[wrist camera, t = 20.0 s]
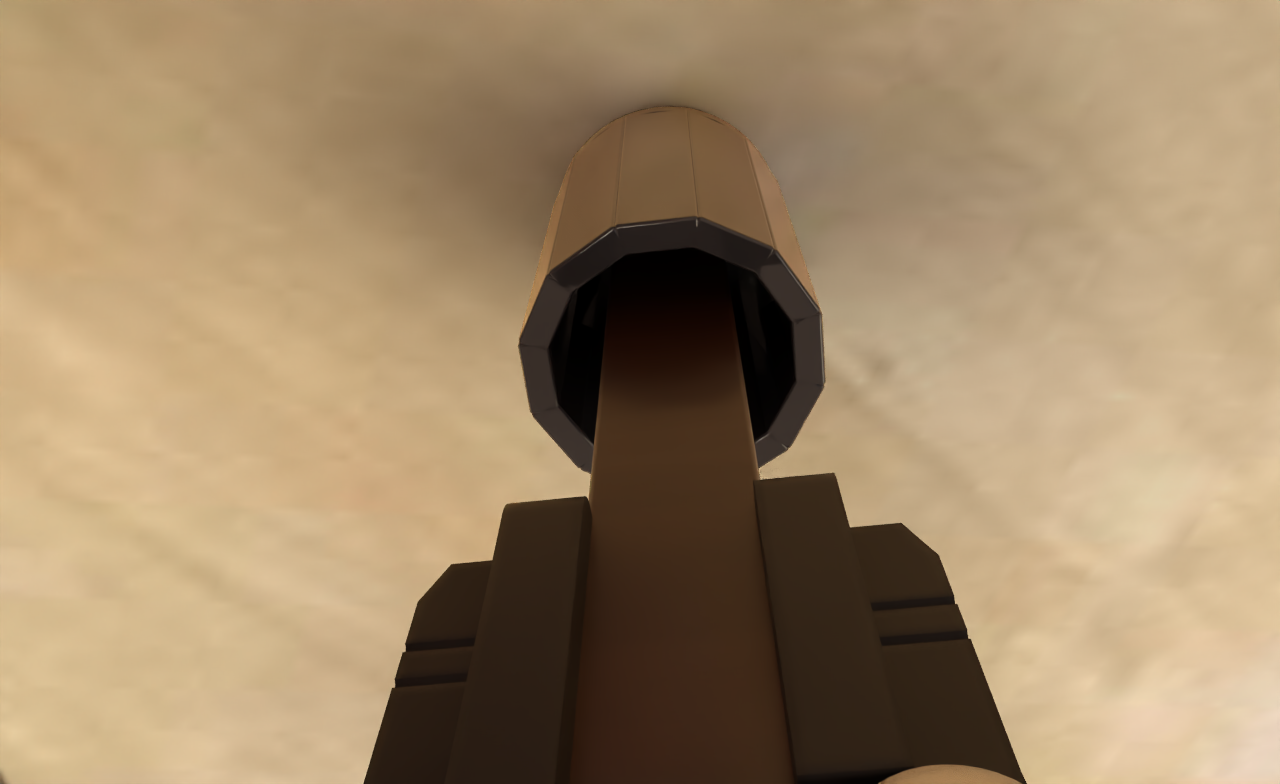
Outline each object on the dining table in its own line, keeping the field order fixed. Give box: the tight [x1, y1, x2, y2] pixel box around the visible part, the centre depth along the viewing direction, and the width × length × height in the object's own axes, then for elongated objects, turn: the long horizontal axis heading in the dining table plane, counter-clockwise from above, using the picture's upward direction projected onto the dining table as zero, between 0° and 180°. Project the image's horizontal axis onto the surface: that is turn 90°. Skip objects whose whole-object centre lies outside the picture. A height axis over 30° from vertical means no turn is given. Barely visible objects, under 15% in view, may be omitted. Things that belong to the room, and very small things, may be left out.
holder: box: [518, 106, 826, 474], centre depth 17 cm, size 4×4×6 cm
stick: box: [569, 248, 795, 784], centre depth 12 cm, size 2×2×14 cm
